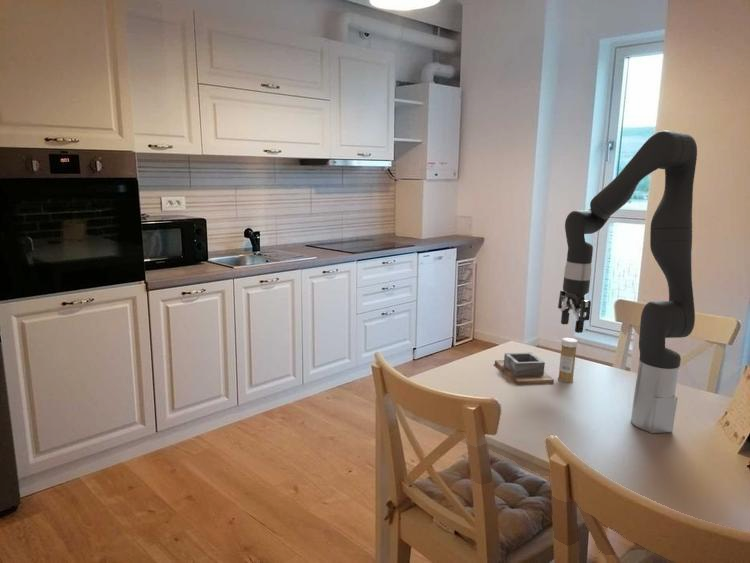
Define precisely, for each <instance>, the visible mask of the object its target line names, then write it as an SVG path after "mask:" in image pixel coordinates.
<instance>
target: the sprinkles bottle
mask: <svg viewBox="0 0 750 563" xmlns="http://www.w3.org/2000/svg"><path fill="white" fill-rule="evenodd" d="M577 347H578V340H577V339H575V338H572V337H562V339H561V353H560V358H559V360H560V361H559V367H558V368H559V370H558V377H557V378H558V381H561V382H562V381H563V383H567V382H569V383H572V382H573V381H574V373H575V365H576V363H575V362H576V353H577V352H576V351H577Z"/></svg>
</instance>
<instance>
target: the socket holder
mask: <svg viewBox="0 0 750 563" xmlns="http://www.w3.org/2000/svg"><path fill="white" fill-rule="evenodd" d="M545 364H546V363H545V361H544V360H542V359H541V358H539V357H538V356H537V355H535V354H534V353H533V352H507V353H504V358H503V360H502V359H499V360H498V359H497V360H494V365H495V366H496V367H498V368H499V370H501V371H502V372H503V373H504V374H505V375H506V376H507V377H508V378H509V379H510V380H511V381H512V382H514V384H516V385H517V386H518V385H519V386H521V385H543V383H549V384H554V383H555V379H554V378H553V377H551V375H549V374H548V373H547V372H545V367H546V366H545Z"/></svg>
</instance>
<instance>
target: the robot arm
mask: <svg viewBox="0 0 750 563" xmlns="http://www.w3.org/2000/svg"><path fill="white" fill-rule="evenodd" d="M697 158H698V146H697V142H696V140H695V138H694V137H693V136H692V135H690V134H688V133H684V132H678V131H674V130H673V131H672V130H660V131H657V132H655V133H654V134H652V135H650V137H649V138H648V139H647V140H646V141H645V142H644V143H643V144H642V146H641V147H640V148H639V149H638V150H637V152H636V153H635V154H634V156H632V158H631V159H630V160H629V162H628V163H627V164H626V165H625V166H624V168H623V169H622V170H621V171H620V172H619V173H618V174H617V176H616V177H614V179H613V180H612V181H610V182H609V183H608V184H607V185H606V186H605V187H604V188H602V189H601V190H600V191H599V192H598V193H597V194H596V195H594V196H593V198H591V200H590V204H589V208H588V209H585V210H584V209H581V210H580V209H579V210H577V209H576V210H573V211H571V212H569V213H568V215H567V216H566V218H565V222H564V231H565V232H564V233H565V237H566V243H567V255H566V262H565V266H564V273H563V274H564V275H563V282H562V283H563V284H562V290H560V292H559V297H558V305H557V308H558V309H560V312H561V318H560V319H561V320H560V324H562V325H569V322H570V311H571V310H572V313H573V314H574V316H575V318H576V319H575V324H574V325H575V327H574V332H575V333H579V334H582V333H583V332H584V324H585V321H590V318H591V317H590V315H591V305H592V304H591V303H592V302H591V300H585V295H586V294H589V292H590V286H591V285H590V284H591V278H592V262H593V253H594V252H593V251H594V248H593V247H594V246H593V244H591V243H589V242H586V238H585V235H588V234H594V233H597V232H598V231H600V230H601V229H602V228H603V227H604V225H605V224H606V223H607V222H608V220H609V219H611V218H610V217H611V216H612V215H613V214H614V213H617V212H618V211H619V210H620V209H621V208H622V207H624V206H625V204H627V203H628V202H629V201H630V199H631V198H632V196H633V195H634V193H635V191H636V189H637V186H638V185H639V183H640V182H641V181H643V179H644V178H645V177H647V176H648V175H649V174H651V173H653V172H655V171H656V170H658V169H660V170H664V175H665V176H664V177H665V178H664V192H663V195H662V198H661V199H660V201H659V204H658V205H657V207H656V209H655V212H654V213H653V215H652V218H651V222H650V228H649V229H650V231H649V232H650V233H649V234H650V240H649V241H650V242H649V247H650V251H651V252H650V253H651V254H652V256H653V258H654V260H655V261H656V263H657V265H658V267H659V268H660V269H661V271H662V274H664V276H665V279H666V281H667V288H668V300H666V301H665V300H653V301H649V302H647V303H646V304H645V305H644V307H643V308H642V311H641V316H640V322H639V323H640V324H639V336H638V337H639V338H638V351H639V358H638V366H637V374H636V379H635V387H634V395H633V401H632V402H633V403H632V409H631V410H632V411H631V418H630V422H631V424H632V425H633V426H635V427H636V428H638V429H640V430H644V431H646V432H648V433H650V434H659V433H660V434H661V433H662V434H663V433H672V432H673V430H674V423H675V417H676V411H677V405H678V397H677V396H676V392H677V391H676V390H677V386H678V385H677V384H678V378H679V373H680V372H679V371H680V367H681V360H682V359H681V358H682V357H681V355H680V354H679V352H677V351H675V350H673V349H672V348H671V349H670V348H668V347H666V339H674V338H675V339H676V338H687V337H688V336H690V335H691V333H692V332H693V330H694V327H695V323H696V322H695V320H696V312H695V300H694V290H693V277H692V274H693V273H692V272H693V271H692V250H693V249H692V247H693V202H694V200H693V199H694V198H693V194H694V183H695V173H696V168H697V160H698V159H697Z"/></svg>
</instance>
